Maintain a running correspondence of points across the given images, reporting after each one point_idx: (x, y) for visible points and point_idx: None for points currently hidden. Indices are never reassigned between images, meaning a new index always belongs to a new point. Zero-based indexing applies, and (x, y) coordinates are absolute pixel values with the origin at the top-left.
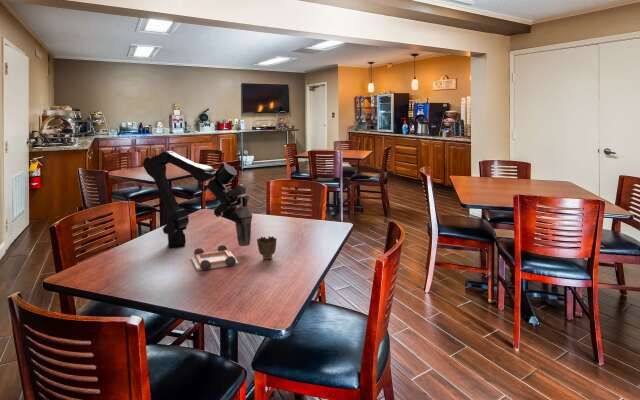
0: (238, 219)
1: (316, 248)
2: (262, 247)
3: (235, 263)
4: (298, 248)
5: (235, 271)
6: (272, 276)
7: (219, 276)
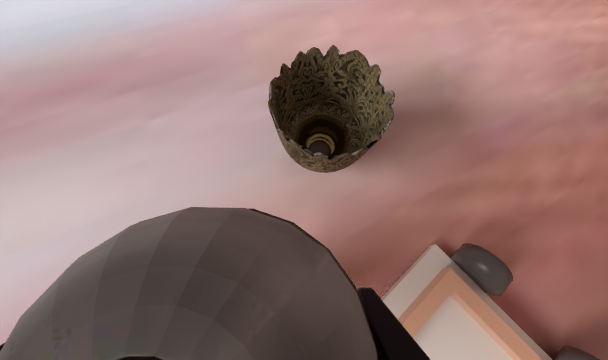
0: (408, 338)
1: (140, 13)
2: (378, 121)
3: (444, 255)
4: (149, 77)
5: (509, 212)
6: (484, 62)
7: (588, 250)
